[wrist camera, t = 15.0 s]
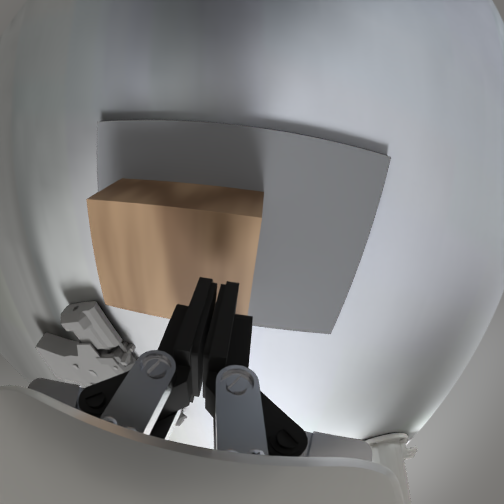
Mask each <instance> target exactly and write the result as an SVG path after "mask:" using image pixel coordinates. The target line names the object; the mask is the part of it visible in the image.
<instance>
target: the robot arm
mask: <svg viewBox="0 0 504 504" xmlns="http://www.w3.org/2000/svg"><path fill="white" fill-rule="evenodd" d="M238 290H239V283H236V282H229V281H227V282H226V284H221V286H220V289H219V293H218V297H217V301H216V296H217V283H213V279H210V278H204V277H200V278H199V280H198V283H197V285H196V288H195V291H194V293H193V296H192V299H191V301H190V304H189V306H186V305H181V304H177V305H176V307H175V309H174V312H173V314H172V316H171V319H170V321H169V324H168V326H167V328H166V331H165V333H164V336H163V338H162V341H161V343H160V346H159V348H158V350H151V351H148V352H145V353H143V354H142V355H141V356H140V357H139V358H138V359H137V360H136V362H135V363H134V365H133V367H132V368H131V370H129V371H127V372H124V373H122V374H119V375H117V376H114V377H112V378H109V379H106V380H104V381H101V382H98V383H96V384H93V385H90V386H88V387H86V388H81V386H80V385H76V384H70V383H65V382H59V381H54V380H50V379H45V378H37V379H34V380H33V381H32V382H31V383H30V384H29V386H28V388H26V387H21V386H12V385H8V386H0V504H411V498H410V491H409V485H408V479H407V473H406V468H405V462H404V460H405V459H410V458H413V457H414V456H415V453H416V452H417V448H416V447H412V448H409V449H407V448H406V443H407V442H408V436H407V434H404V433H392V434H387V435H382V436H378V437H375V438H371V439H368V440H365V441H363V440H360V439H354V438H347V437H341V436H335V435H330V434H325V433H320V432H315V431H314V432H313V433H310V432H306V431H304V430H303V429H302V428H301V427H300V426H299V425H298V424H296V423H295V422H294V421H293V420H292V419H291V418H290V417H288V416H287V415H286V414H285V413H284V412H283V411H282V410H281V409H279V408H278V407H277V406H276V405H275V404H274V403H273V402H272V401H271V400H270V399H269V398H268V397H266V396H265V395H264V394H263V393H262V392H261V391H260V386H259V380H258V377H257V376H256V374H255V373H254V372H253V371H252V370H250V369H249V368H248V366H249V355H250V344H251V333H252V322H253V316H247V315H240V314H235V313H236V305H237V298H238ZM202 382H203V398H205V408H206V410H207V411H208V412H209V413H210V414H211V416H212V417H213V432H214V449H208V448H203V447H197V446H192V445H187V444H183V443H178V442H174V441H170V440H169V438H170V436H171V433H172V431H173V429H174V427H175V424H176V422H177V420H178V418H179V416H180V413H181V409H182V408H184V407H186V406H188V405H189V403H190V402H192V403H193V400H194V396H197V397H199V395H200V391H201V386H202Z"/></svg>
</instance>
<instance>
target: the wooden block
mask: <svg viewBox="0 0 504 504" xmlns="http://www.w3.org/2000/svg"><path fill="white" fill-rule="evenodd" d="M263 199H264V192H261V191H254V190H246V189H238V188H230V187H221V186H212V185H202V184H192V183H181V182H170V181H156V180H142V179H124V178H121V179H120V180H118V181H116V182H114V183H113V184H111V185H109V186H108V187H106V188H104V189H102V190H101V191H99V192H97V193H96V194H94V195H93V196H91V197H89V198H88V199H87V207H88V216H89V223H90V231H91V237H92V243H93V249H94V255H95V260H96V265H97V270H98V275H99V280H100V284H101V289H102V293H103V297H104V301H105V305H109V306H113V307H117V308H122V309H126V310H130V311H135V312H139V313H144V314H149V315H153V316H158V317H163V318H168V319H171V316H172V314H173V312H174V309H175V307H176V305H177V304H181V305H186V306H189V304H190V301H191V299H192V296H193V293H194V291H195V288H196V285H197V283H198V280H199V278H200V277H204V278H210V279H213V283H217V296H216V301H217V297H218V293H219V289H220V286H221V284H226V282H227V281H229V282H236V283H239V290H238V298H237V305H236V313H235V314H240V315H248V309H249V302H250V295H251V289H252V282H253V275H254V269H255V262H256V255H257V248H258V242H259V235H260V228H261V221H262V212H263Z"/></svg>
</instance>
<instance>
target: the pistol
mask: <svg viewBox="0 0 504 504" xmlns="http://www.w3.org/2000/svg"><path fill="white" fill-rule="evenodd" d="M61 324H62V326H63V327H64V328H65V330H66V331H73V332H74V334H75V335H76V336H77V337H78V339H79V340H80V341H73V340H69V339H66V338H63V337H59V336H56V335H53V334H50V333H45V334H44V335H43V337H42V338H41V340H40V341H39V342H38V344H37V346H36V347H35V348H36V350H37V351H38V353H39V354H40V356H41V357H42V359H43V360H44V362H45V363H46V365H47V366H48V367H49V369H50V370H51V371H52V373H53V374H54V375H55V377H56V378H58V379H61V380H63V381H72V382H75V383H79V384H82V385H86V386H90V385H93V384H96V383H98V382H101V381H104V380H106V379H109V378H112V377H114V376H117V375H119V374H122V373H124V372H127V371H129V370H131V368H132V367H133V365H134V363H135V362H136V359H135V357H134V356H133V355H132V354H131V352H134V349H135V346H134V344H129V345H128V343H127V342H126V341H123V342H122V339H121V337H120V336H119V334H118V333H117V332H116V330H115V329H114V327H113V326H112V325H111V323H110V322H109V320H108V319H107V317H106V316H105V314H104V313H103V311H102V310H101V308H100V307H99V305H98V304H97V302H96V301H92V302H89V301H86V302H81V303H75V304H70V305H68V306H67V307H66V308H65V309H64V311H63V312H62V313H61ZM185 418H187V416H186V415H184V414H183V412H182V411H181V413H180V416H179V418H178V420H177V422H176V424H175V426H180V425H181V423H182V422H183V421H184V419H185Z"/></svg>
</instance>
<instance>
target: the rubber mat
mask: <svg viewBox="0 0 504 504" xmlns="http://www.w3.org/2000/svg"><path fill="white" fill-rule="evenodd" d="M390 159H391V157H389V156H387V155H384V154H381V153H377V152H374V151H370V150H367V149H363V148H359V147H355V146H351V145H347V144H343V143H339V142H335V141H331V140H326V139H321V138H317V137H312V136H307V135H302V134H296V133H291V132H285V131H279V130H273V129H266V128H259V127H251V126H243V125H234V124H224V123H213V122H200V121H181V120H113V121H100V122H97V181H98V192H99V191H101V190H102V189H104V188H106V187H108V186H109V185H111V184H113V183H114V182H116V181H118V180H120V179H121V178H124V179H142V180H156V181H170V182H181V183H192V184H202V185H212V186H221V187H230V188H238V189H246V190H254V191H261V192H264V199H263V212H262V221H261V228H260V235H259V242H258V248H257V255H256V262H255V269H254V275H253V282H252V289H251V295H250V302H249V309H248V315H247V316H253V322H252V326H259V327H267V328H275V329H284V330H293V331H303V332H313V333H324V334H331V332H332V330H333V328H334V325H335V323H336V321H337V318H338V316H339V314H340V311H341V309H342V307H343V304H344V302H345V299H346V297H347V294H348V292H349V289H350V287H351V284H352V282H353V279H354V276H355V274H356V271H357V268H358V266H359V263H360V260H361V257H362V254H363V252H364V249H365V246H366V243H367V240H368V237H369V234H370V231H371V228H372V224H373V221H374V218H375V215H376V211H377V208H378V205H379V201H380V198H381V194H382V191H383V187H384V183H385V179H386V175H387V172H388V168H389V163H390Z"/></svg>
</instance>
